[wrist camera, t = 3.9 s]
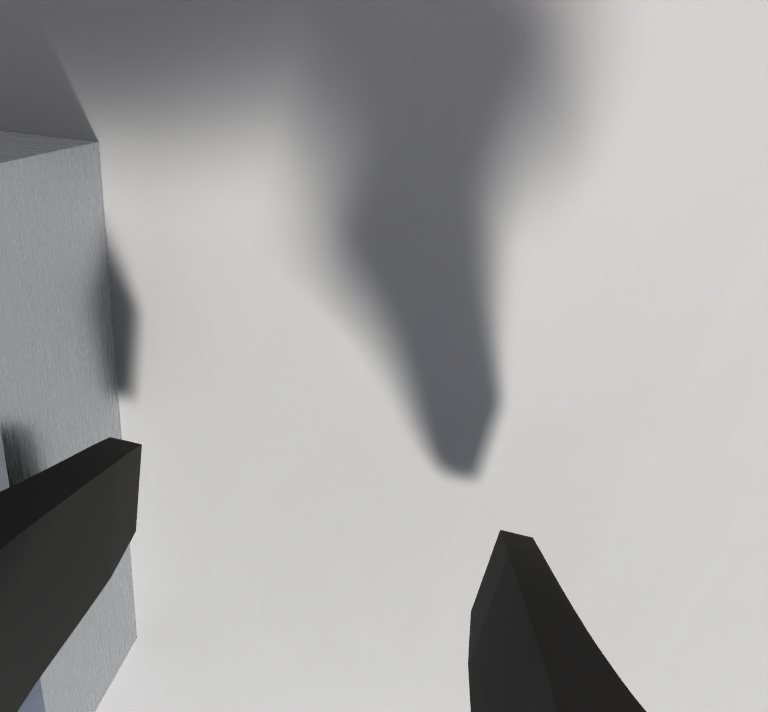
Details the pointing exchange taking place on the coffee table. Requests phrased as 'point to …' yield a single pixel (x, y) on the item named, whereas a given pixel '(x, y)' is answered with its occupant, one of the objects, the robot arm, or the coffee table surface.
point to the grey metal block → (60, 371)
